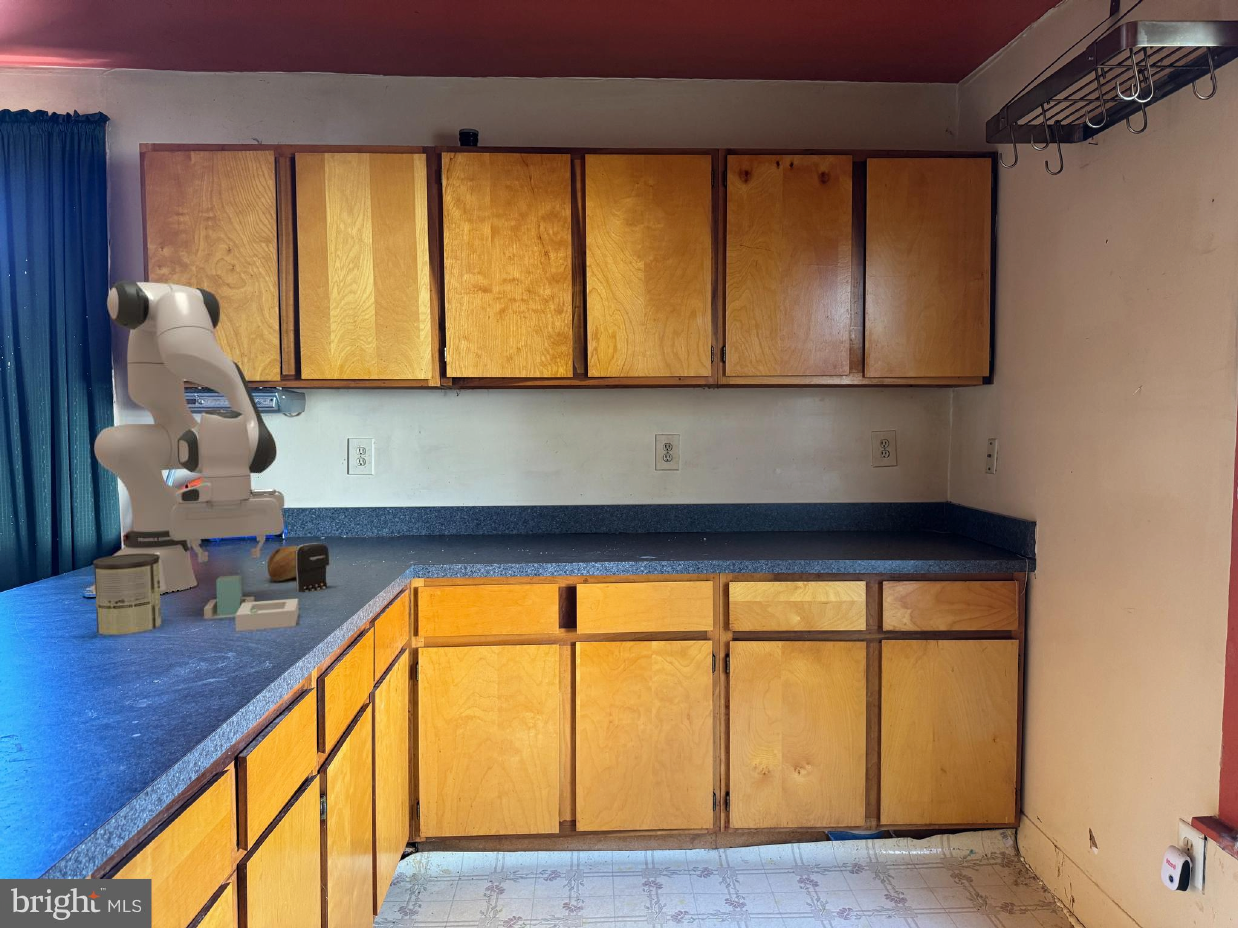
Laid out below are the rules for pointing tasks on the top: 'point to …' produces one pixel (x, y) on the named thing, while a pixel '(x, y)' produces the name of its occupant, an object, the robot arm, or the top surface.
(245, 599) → the holster
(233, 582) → the plug
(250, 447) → the robot arm
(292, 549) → the bread roll
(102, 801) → the top surface
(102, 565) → the coffee can
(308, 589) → the battery
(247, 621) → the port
